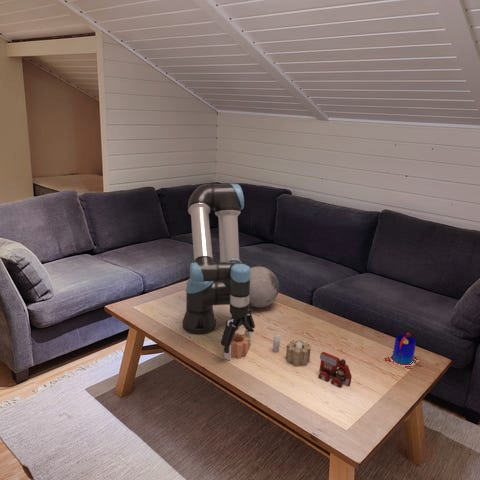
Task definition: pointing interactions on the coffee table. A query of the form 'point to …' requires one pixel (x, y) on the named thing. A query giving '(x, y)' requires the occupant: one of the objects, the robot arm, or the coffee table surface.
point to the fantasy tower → (403, 350)
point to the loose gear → (239, 346)
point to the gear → (298, 353)
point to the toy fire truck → (334, 370)
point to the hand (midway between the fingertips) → (237, 352)
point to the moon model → (262, 287)
